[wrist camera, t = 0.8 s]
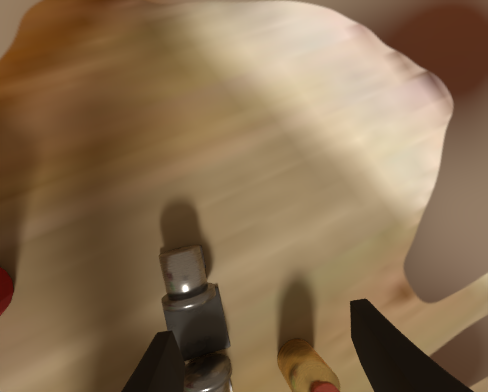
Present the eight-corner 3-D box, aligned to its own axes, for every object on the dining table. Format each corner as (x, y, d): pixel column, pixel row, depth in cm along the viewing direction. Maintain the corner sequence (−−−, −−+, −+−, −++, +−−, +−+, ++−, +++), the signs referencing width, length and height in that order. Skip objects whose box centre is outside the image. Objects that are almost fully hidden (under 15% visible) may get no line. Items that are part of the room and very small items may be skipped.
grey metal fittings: (239, 391, 32) (249, 426, 27) (185, 410, 31) (184, 450, 26) (207, 240, 32) (211, 247, 27) (151, 253, 31) (144, 263, 26)
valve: (317, 370, 34) (353, 417, 26) (281, 383, 33) (309, 435, 26) (309, 333, 34) (343, 370, 26) (273, 345, 33) (298, 386, 26)
